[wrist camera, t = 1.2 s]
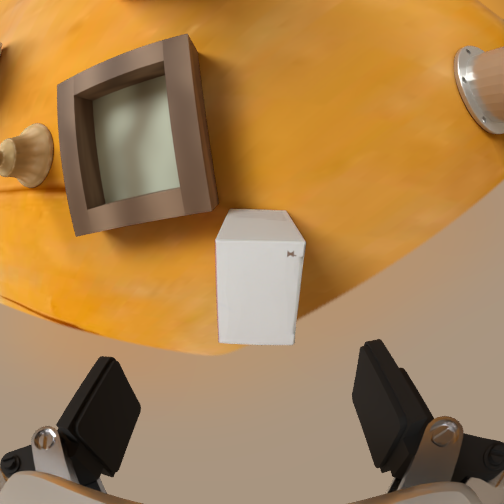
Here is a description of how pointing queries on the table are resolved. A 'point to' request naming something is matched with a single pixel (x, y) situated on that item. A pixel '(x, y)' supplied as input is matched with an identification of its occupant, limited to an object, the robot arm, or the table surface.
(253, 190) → the table surface
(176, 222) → the table surface
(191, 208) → the well block
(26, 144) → the hand bell
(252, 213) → the small box
